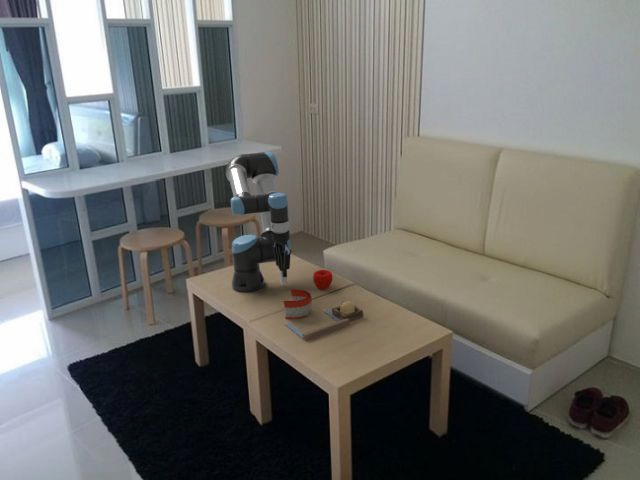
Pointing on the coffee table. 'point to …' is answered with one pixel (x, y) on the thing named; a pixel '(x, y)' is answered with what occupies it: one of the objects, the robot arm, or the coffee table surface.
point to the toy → (298, 304)
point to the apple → (322, 279)
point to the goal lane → (321, 330)
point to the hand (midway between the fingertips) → (284, 283)
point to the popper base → (351, 316)
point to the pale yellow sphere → (347, 307)
